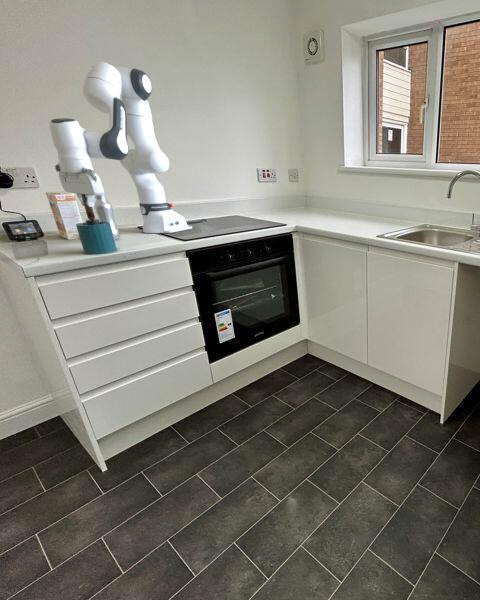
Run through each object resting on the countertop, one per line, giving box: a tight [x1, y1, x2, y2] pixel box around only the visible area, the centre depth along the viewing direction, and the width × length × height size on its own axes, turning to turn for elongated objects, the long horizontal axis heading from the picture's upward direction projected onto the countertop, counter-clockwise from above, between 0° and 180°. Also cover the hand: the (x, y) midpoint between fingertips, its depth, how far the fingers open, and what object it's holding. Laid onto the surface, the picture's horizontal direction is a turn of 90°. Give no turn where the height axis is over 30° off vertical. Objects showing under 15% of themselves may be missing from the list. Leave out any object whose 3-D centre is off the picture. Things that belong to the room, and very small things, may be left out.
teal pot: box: [76, 221, 118, 255], centre depth 137 cm, size 10×10×11 cm
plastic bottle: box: [93, 193, 121, 241], centre depth 155 cm, size 6×7×20 cm
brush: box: [81, 194, 100, 225], centre depth 134 cm, size 4×4×16 cm
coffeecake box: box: [45, 191, 84, 241], centre depth 159 cm, size 15×7×20 cm, turn 53°
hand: (88, 206), depth 133 cm, fingers closed on brush, 2 cm apart
